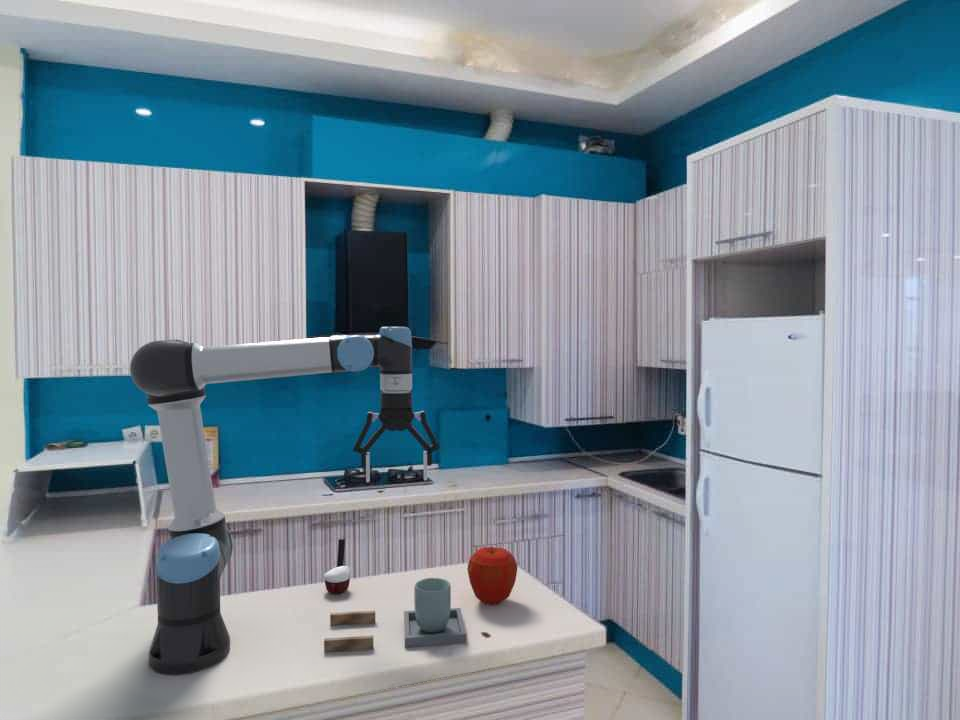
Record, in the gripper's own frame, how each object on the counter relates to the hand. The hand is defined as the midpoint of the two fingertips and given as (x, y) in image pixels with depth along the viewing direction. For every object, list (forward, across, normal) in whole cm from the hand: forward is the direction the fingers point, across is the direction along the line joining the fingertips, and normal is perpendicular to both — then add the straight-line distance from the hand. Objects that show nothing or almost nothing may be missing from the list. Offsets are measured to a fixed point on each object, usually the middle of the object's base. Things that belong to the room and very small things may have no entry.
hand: (396, 480), depth 151 cm
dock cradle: (+31, +8, -14) cm, 35 cm away
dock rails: (+31, -10, -14) cm, 35 cm away
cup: (+30, +8, -14) cm, 34 cm away
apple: (+31, +23, -1) cm, 38 cm away
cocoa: (+31, -15, +11) cm, 36 cm away
